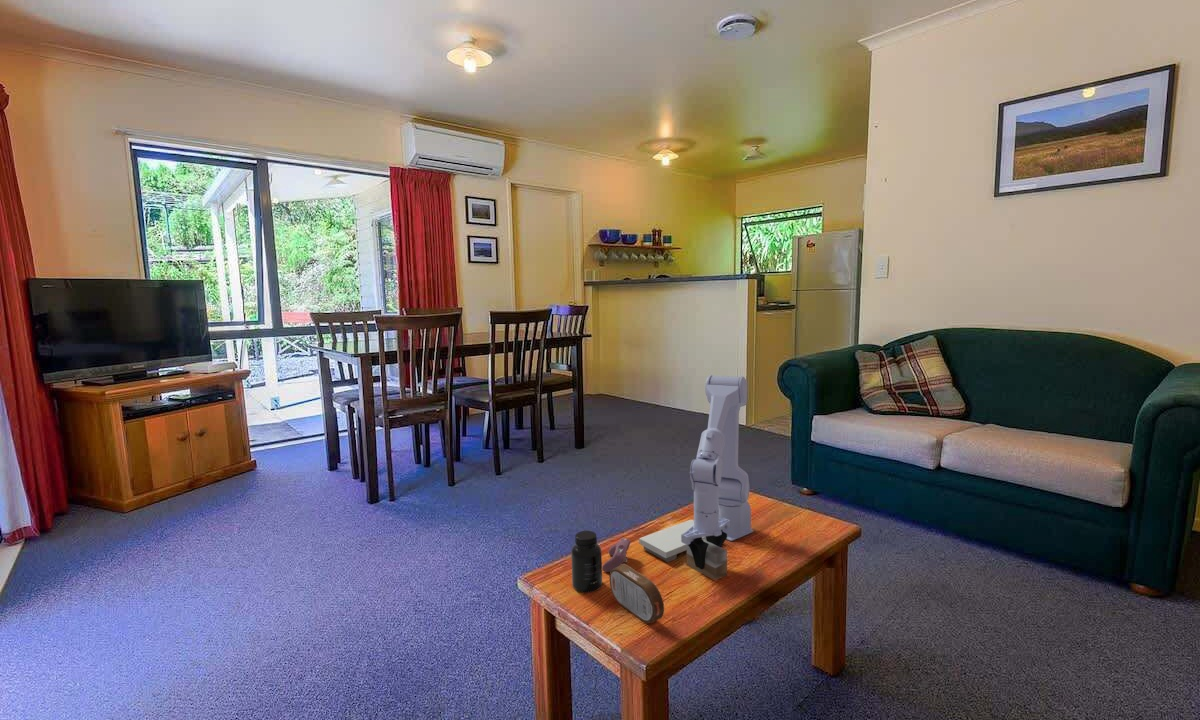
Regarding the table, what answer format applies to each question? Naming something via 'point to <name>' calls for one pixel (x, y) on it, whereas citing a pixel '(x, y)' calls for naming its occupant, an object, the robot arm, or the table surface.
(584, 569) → the supplement bottle
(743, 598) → the table surface
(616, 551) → the video game controller
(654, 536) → the stand
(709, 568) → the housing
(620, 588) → the tin
